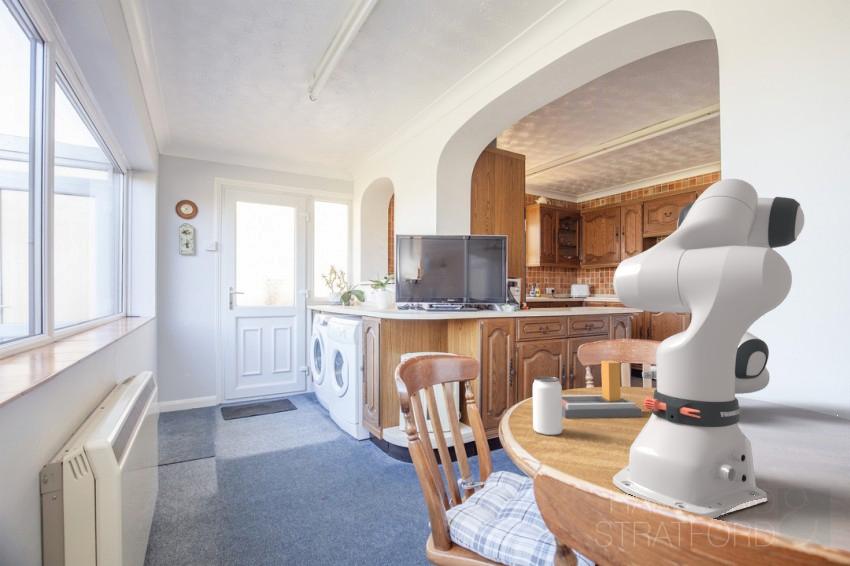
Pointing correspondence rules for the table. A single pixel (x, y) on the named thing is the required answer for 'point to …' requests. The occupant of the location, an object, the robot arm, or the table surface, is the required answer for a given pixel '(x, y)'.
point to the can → (547, 406)
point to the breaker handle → (610, 382)
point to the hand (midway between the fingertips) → (653, 378)
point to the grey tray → (596, 407)
